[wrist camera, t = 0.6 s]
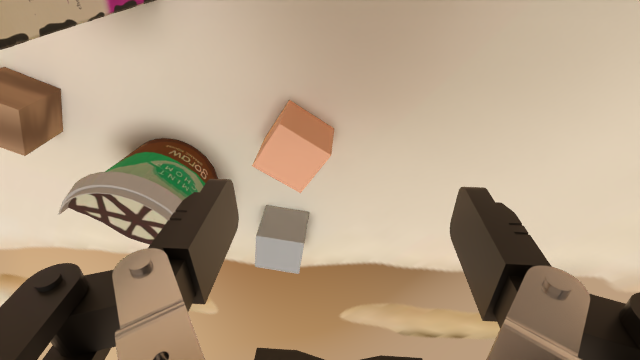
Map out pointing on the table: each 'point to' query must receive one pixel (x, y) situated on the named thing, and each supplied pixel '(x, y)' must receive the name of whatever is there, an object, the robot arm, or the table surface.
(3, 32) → the candy bar box
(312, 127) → the terracotta block
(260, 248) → the slate grey block
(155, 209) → the food container
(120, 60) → the table surface
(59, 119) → the walnut block
